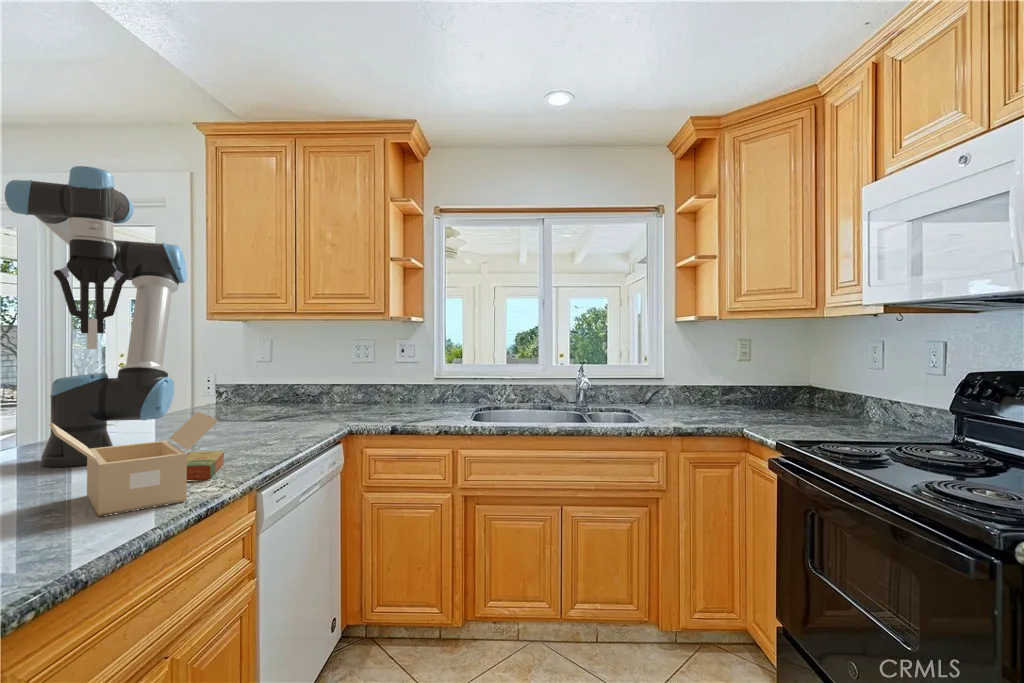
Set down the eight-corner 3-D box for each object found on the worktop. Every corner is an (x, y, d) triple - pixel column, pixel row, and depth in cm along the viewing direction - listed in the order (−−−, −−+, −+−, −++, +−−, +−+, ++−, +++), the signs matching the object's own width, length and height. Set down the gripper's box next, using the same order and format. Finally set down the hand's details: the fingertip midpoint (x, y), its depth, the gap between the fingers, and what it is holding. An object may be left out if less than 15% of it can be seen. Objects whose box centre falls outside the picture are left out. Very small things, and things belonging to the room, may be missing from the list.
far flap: (197, 411, 125) (199, 412, 125) (169, 438, 121) (171, 439, 121) (216, 419, 114) (218, 420, 114) (186, 448, 110) (188, 450, 110)
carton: (224, 465, 141) (224, 449, 141) (210, 481, 125) (211, 464, 125) (188, 467, 138) (189, 451, 138) (170, 484, 123) (171, 465, 123)
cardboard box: (86, 495, 112) (87, 448, 112) (166, 483, 122) (166, 440, 122) (98, 517, 99) (99, 464, 99) (186, 501, 109) (187, 454, 109)
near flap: (87, 446, 110) (84, 448, 110) (51, 422, 106) (49, 424, 106) (96, 459, 100) (94, 461, 100) (57, 433, 96) (55, 435, 96)
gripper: (53, 234, 107) (54, 350, 108) (131, 242, 116) (131, 349, 117) (50, 238, 113) (51, 347, 113) (125, 245, 122) (125, 347, 123)
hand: (92, 348), depth 115 cm, fingers closed
